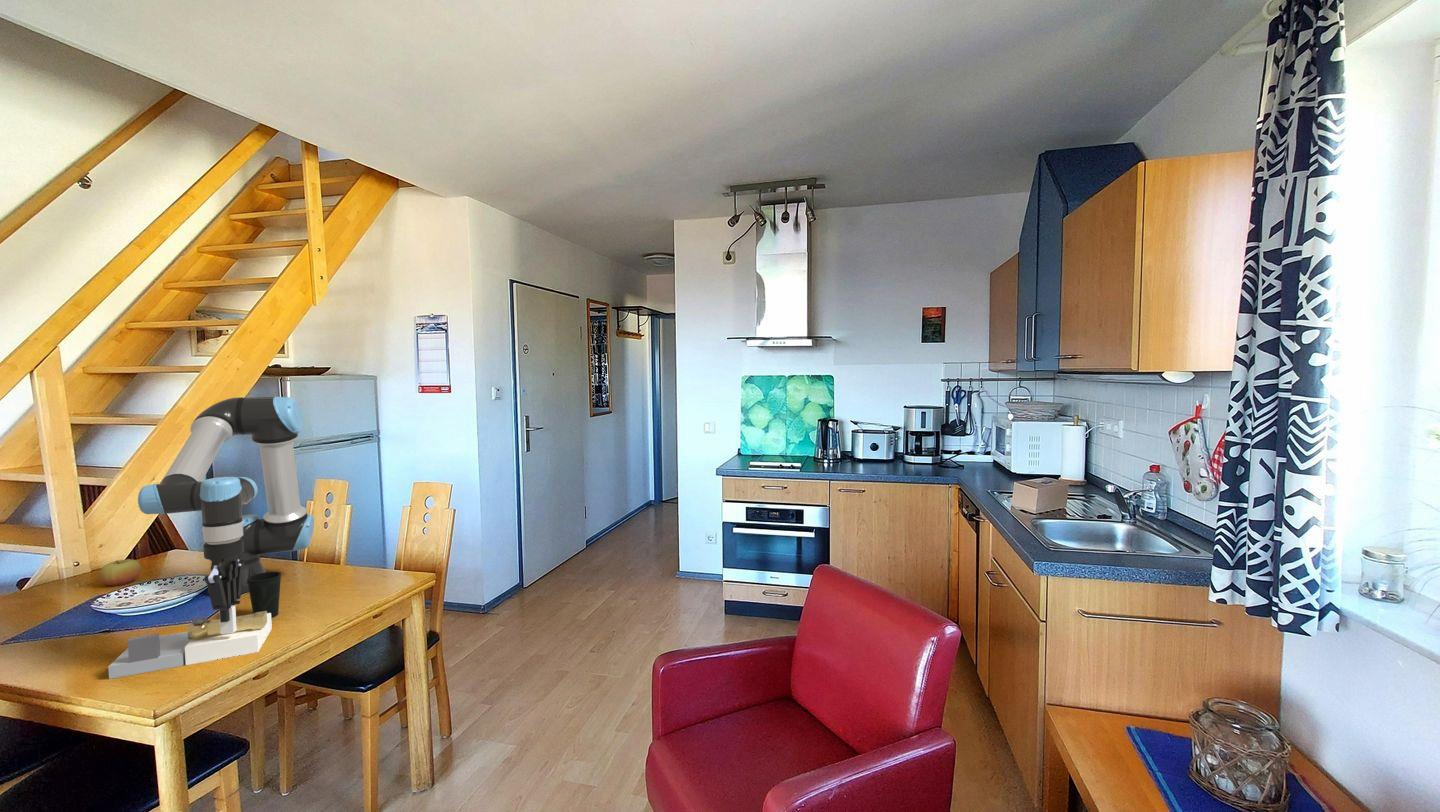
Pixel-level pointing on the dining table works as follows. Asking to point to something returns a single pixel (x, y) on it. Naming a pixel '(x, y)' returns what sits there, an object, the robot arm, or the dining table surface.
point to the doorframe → (185, 649)
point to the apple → (120, 572)
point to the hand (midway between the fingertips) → (228, 632)
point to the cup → (265, 592)
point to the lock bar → (213, 626)
